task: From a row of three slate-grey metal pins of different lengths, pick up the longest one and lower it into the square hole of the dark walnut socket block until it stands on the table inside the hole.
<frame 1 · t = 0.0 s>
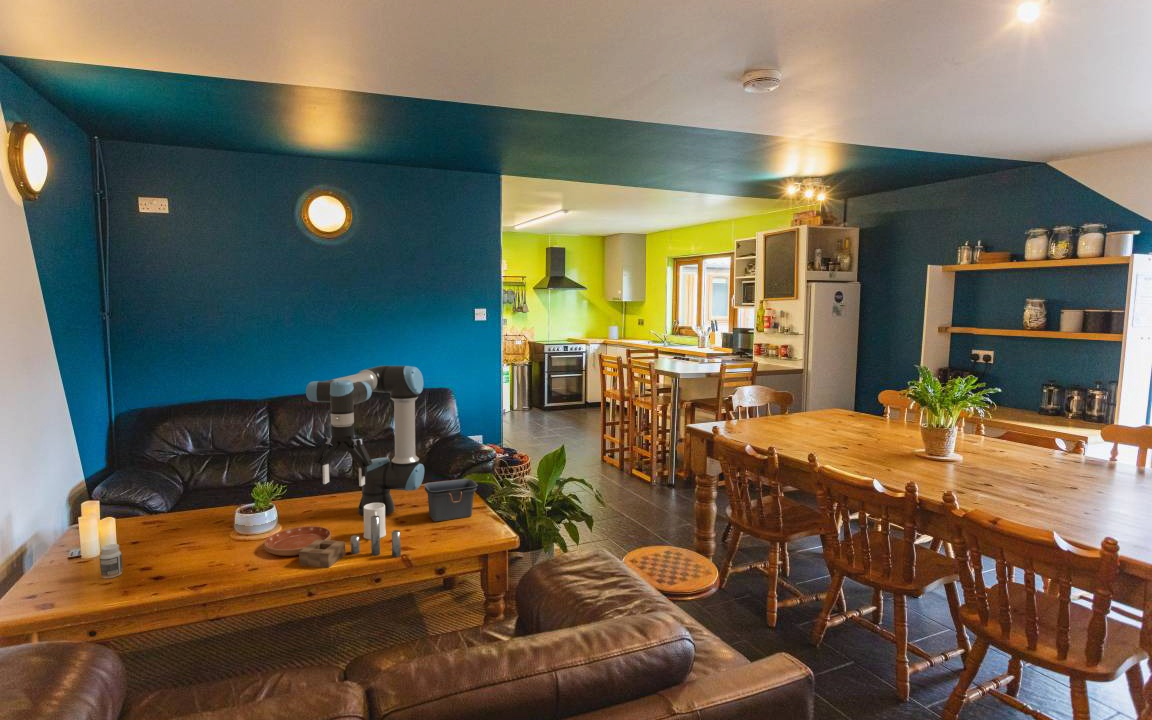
hand: (344, 484, 210), 28 cm above the table, fingers open, 13 cm apart
short pin: (355, 552, 219), on the table
storage bin: (451, 517, 257), on the table
pill bottle: (112, 575, 199), on the table
socket block: (322, 560, 213), on the table
long pin: (375, 554, 218), on the table
medium pin: (396, 555, 217), on the table
mug: (374, 537, 234), on the table
saucer: (298, 546, 225), on the table
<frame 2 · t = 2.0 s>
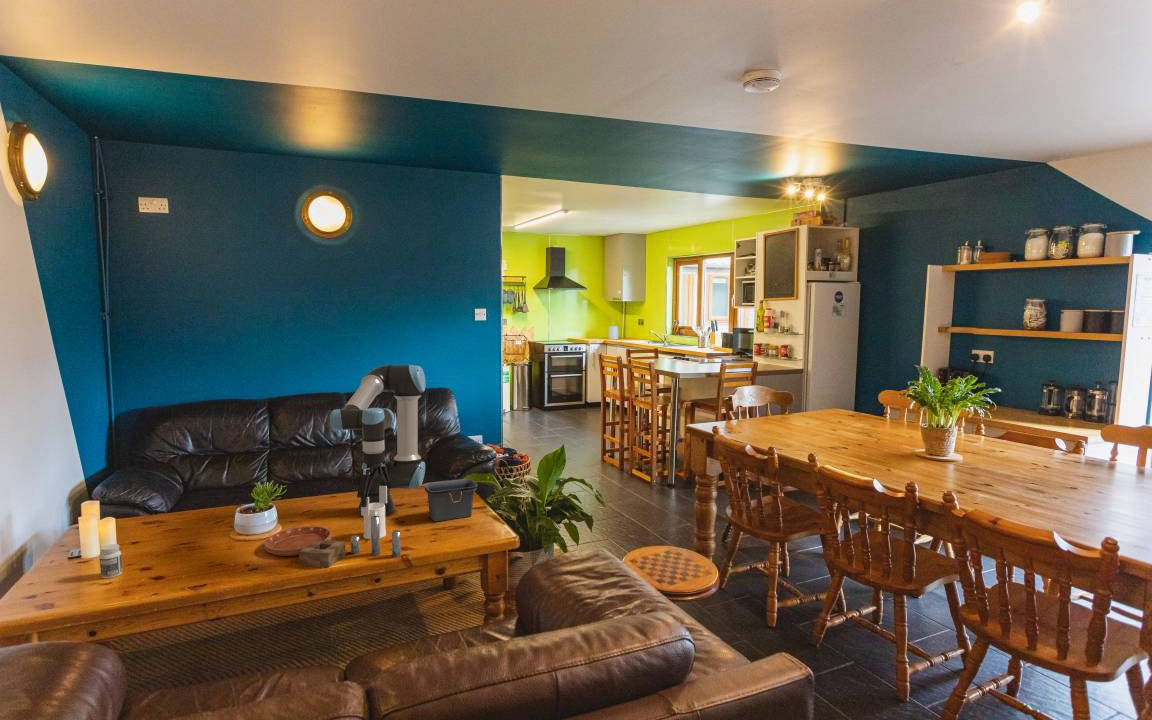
hand: (374, 509, 216), 17 cm above the table, fingers open, 13 cm apart
nothing on the table moved.
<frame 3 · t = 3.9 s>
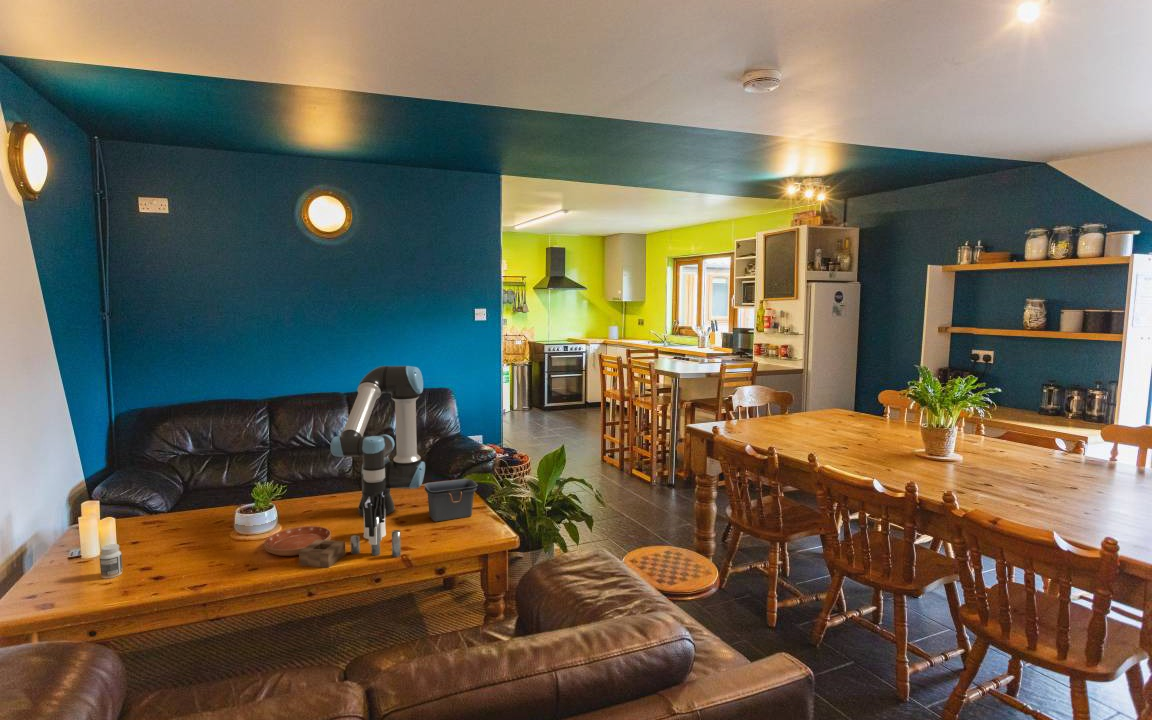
hand: (375, 542, 218), 5 cm above the table, fingers closed on long pin, 3 cm apart
long pin: (375, 554, 218), on the table, touching gripper
everything else where it was.
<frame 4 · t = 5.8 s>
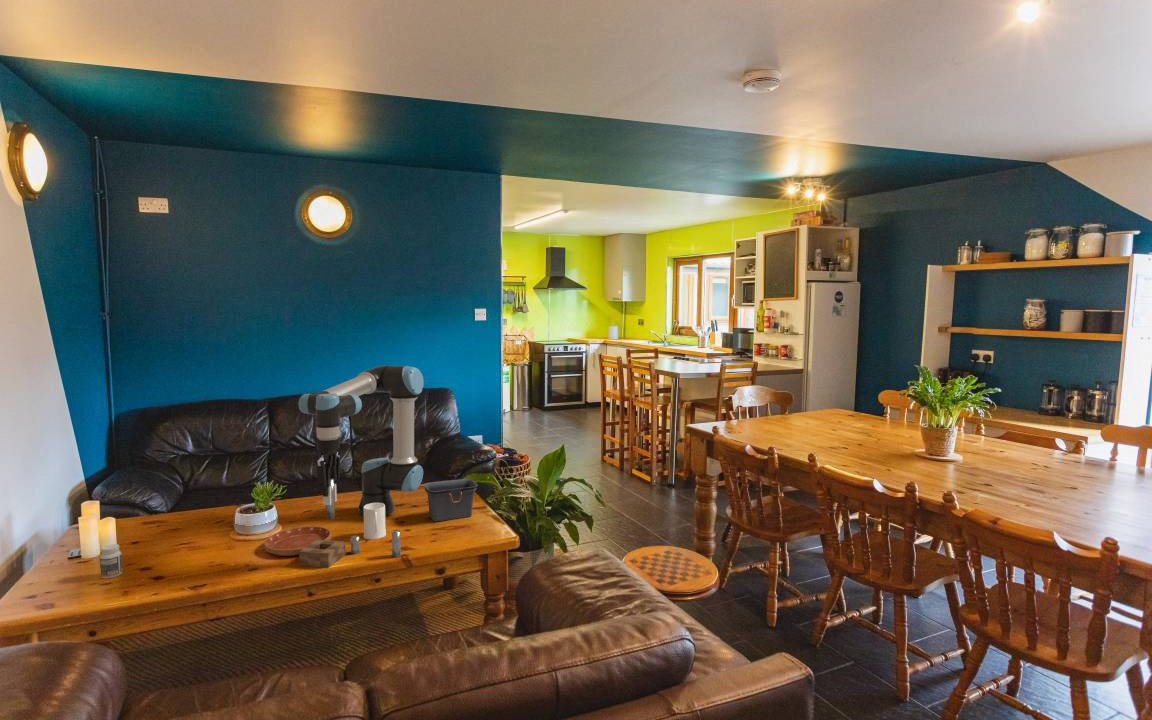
hand: (329, 502, 211), 21 cm above the table, fingers closed on long pin, 3 cm apart
long pin: (330, 517, 212), point 15 cm above the table, touching gripper
everything else where it was.
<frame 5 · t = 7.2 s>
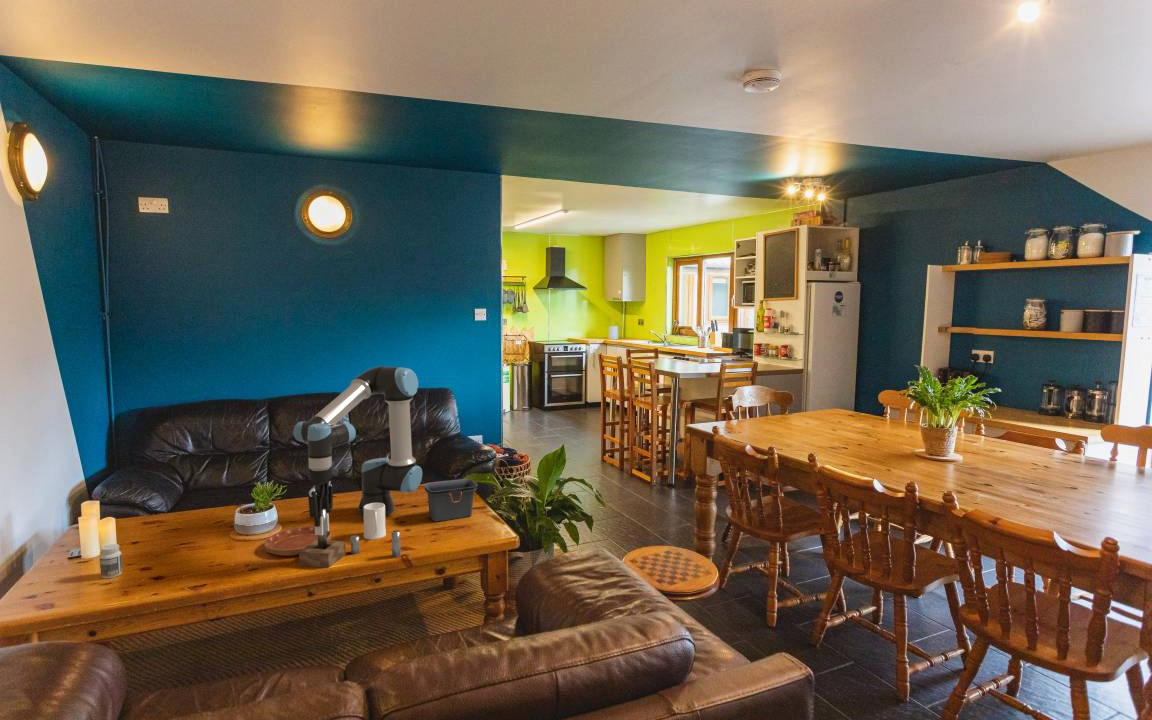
hand: (322, 532, 212), 10 cm above the table, fingers closed on long pin, 3 cm apart
long pin: (322, 547, 212), point 5 cm above the table, touching gripper
everything else where it was.
when the fingers open (7 cm above the table, at t = 8.1 s): long pin drops 1 cm, resting in socket block.
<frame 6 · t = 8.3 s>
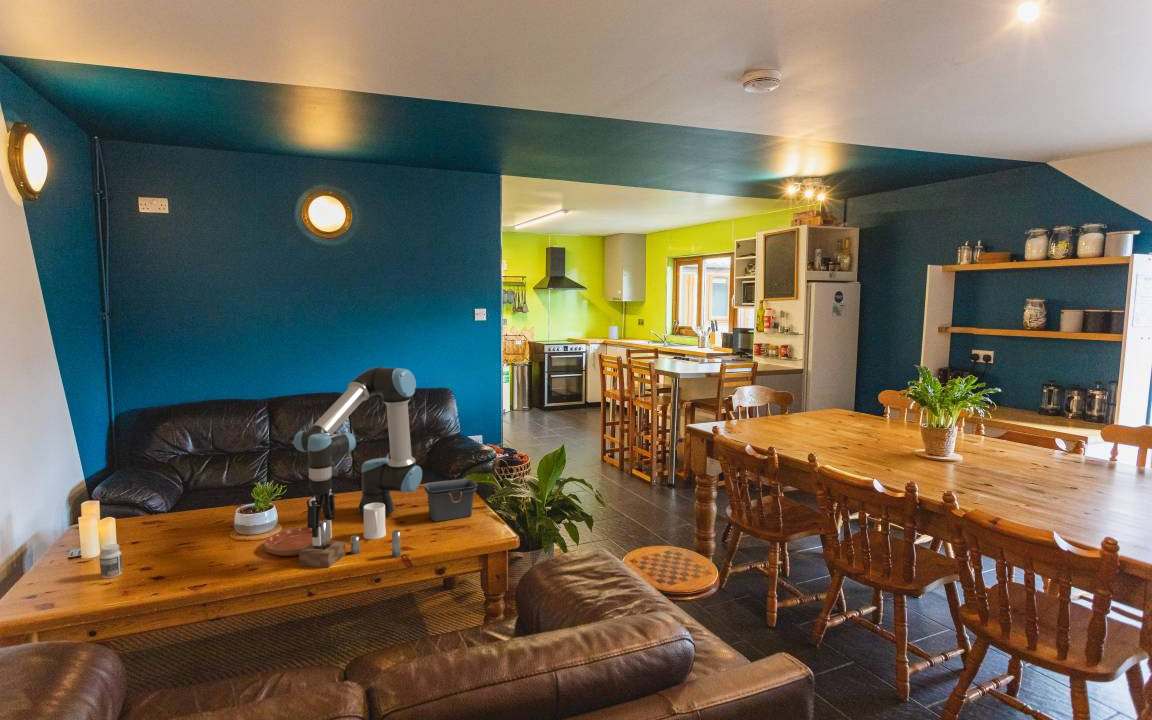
hand: (322, 541, 212), 7 cm above the table, fingers open, 6 cm apart
long pin: (322, 560, 213), resting in socket block
everything else where it was.
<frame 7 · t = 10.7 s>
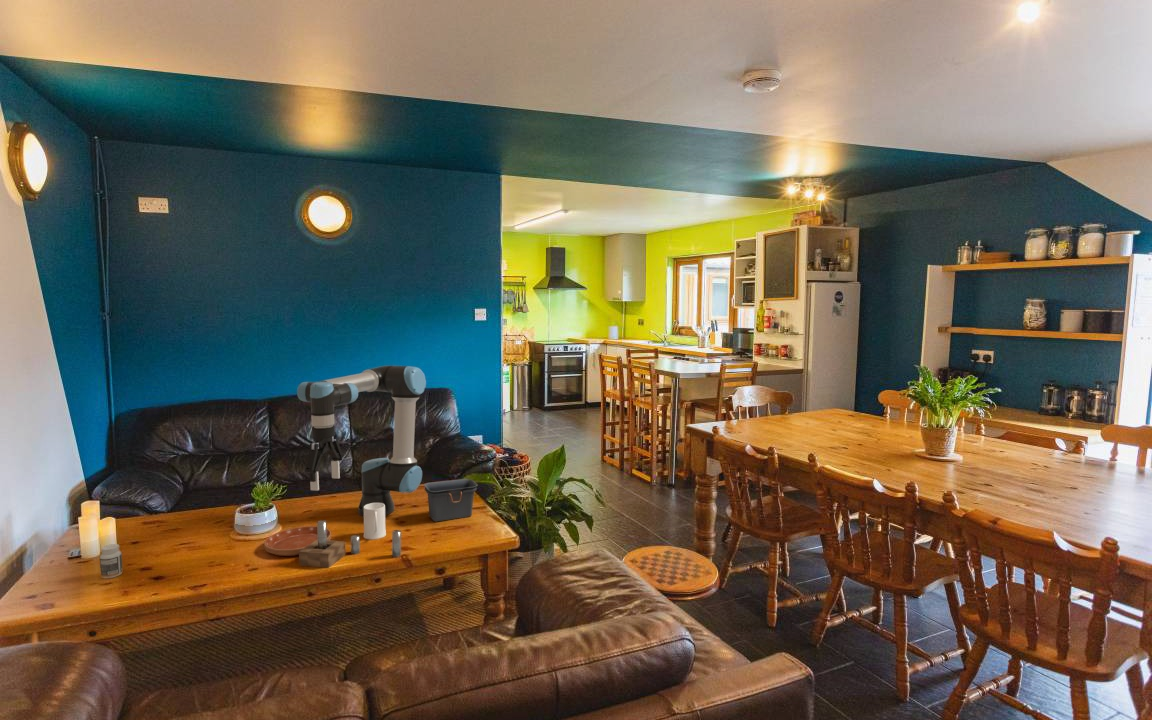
hand: (325, 484, 214), 27 cm above the table, fingers open, 13 cm apart
nothing on the table moved.
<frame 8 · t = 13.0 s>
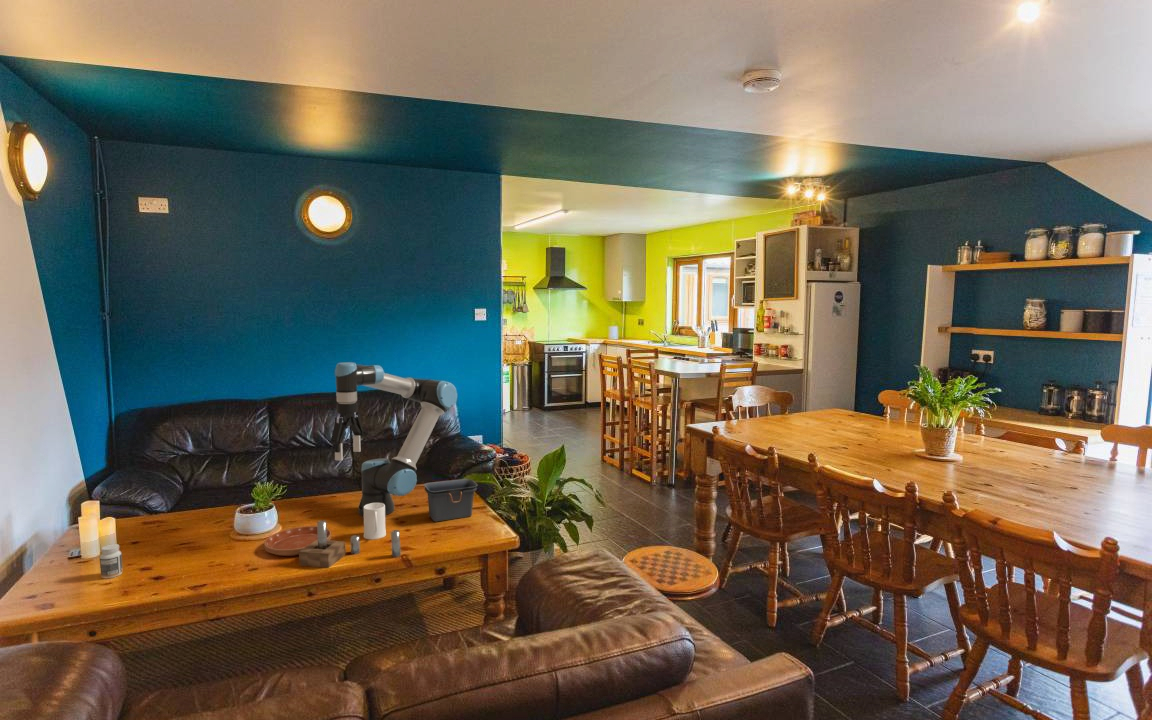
hand: (348, 455, 234), 32 cm above the table, fingers open, 13 cm apart
nothing on the table moved.
at the end: long pin 0.0 cm off-centre on the socket block, point 0.0 cm above the socket block's base; long pin tilted 0°; the gripper is holding nothing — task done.
